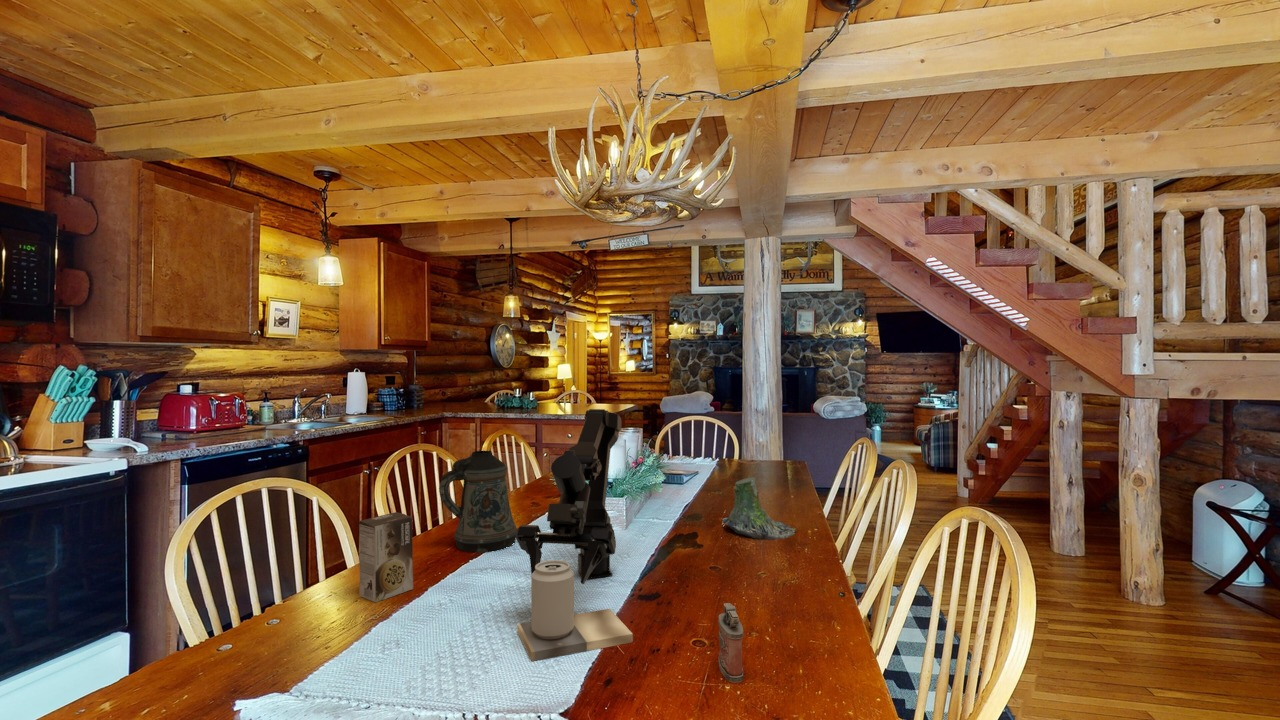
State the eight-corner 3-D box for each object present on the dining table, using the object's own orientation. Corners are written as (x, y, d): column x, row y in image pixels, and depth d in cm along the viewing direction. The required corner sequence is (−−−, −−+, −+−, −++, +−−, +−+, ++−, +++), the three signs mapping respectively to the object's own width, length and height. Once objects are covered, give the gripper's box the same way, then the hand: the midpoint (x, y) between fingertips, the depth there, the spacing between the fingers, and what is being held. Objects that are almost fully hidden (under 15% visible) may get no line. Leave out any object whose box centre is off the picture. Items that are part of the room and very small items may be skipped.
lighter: (715, 657, 104) (715, 598, 104) (735, 657, 105) (734, 597, 105) (725, 682, 96) (725, 618, 96) (747, 681, 97) (747, 617, 97)
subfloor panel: (609, 616, 121) (609, 608, 121) (632, 642, 110) (632, 633, 110) (517, 632, 114) (517, 623, 114) (531, 661, 103) (531, 651, 103)
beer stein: (529, 541, 172) (529, 450, 171) (476, 560, 155) (475, 459, 155) (486, 532, 180) (486, 445, 180) (431, 549, 164) (431, 454, 164)
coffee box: (396, 583, 139) (396, 511, 139) (414, 589, 135) (413, 515, 135) (357, 596, 132) (357, 520, 132) (375, 603, 128) (375, 524, 128)
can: (574, 622, 115) (574, 557, 115) (573, 640, 107) (573, 571, 107) (533, 623, 114) (533, 558, 114) (529, 642, 107) (529, 572, 107)
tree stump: (800, 543, 170) (784, 480, 170) (728, 557, 174) (712, 495, 173) (793, 522, 188) (779, 465, 188) (729, 535, 192) (714, 479, 191)
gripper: (518, 483, 121) (497, 559, 110) (612, 486, 118) (601, 564, 107) (531, 513, 129) (513, 586, 118) (620, 516, 126) (610, 592, 115)
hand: (557, 581), depth 114 cm, fingers open, 9 cm apart
